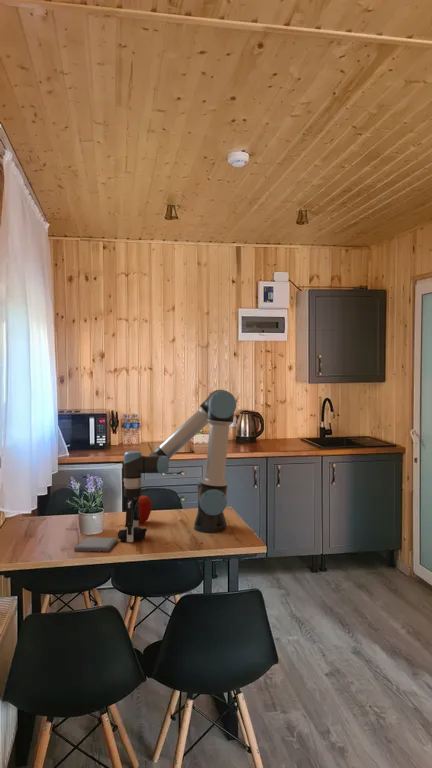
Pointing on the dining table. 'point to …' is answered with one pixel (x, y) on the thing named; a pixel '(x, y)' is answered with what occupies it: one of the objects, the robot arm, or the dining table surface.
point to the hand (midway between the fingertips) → (132, 538)
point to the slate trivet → (96, 544)
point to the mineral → (137, 534)
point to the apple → (144, 508)
